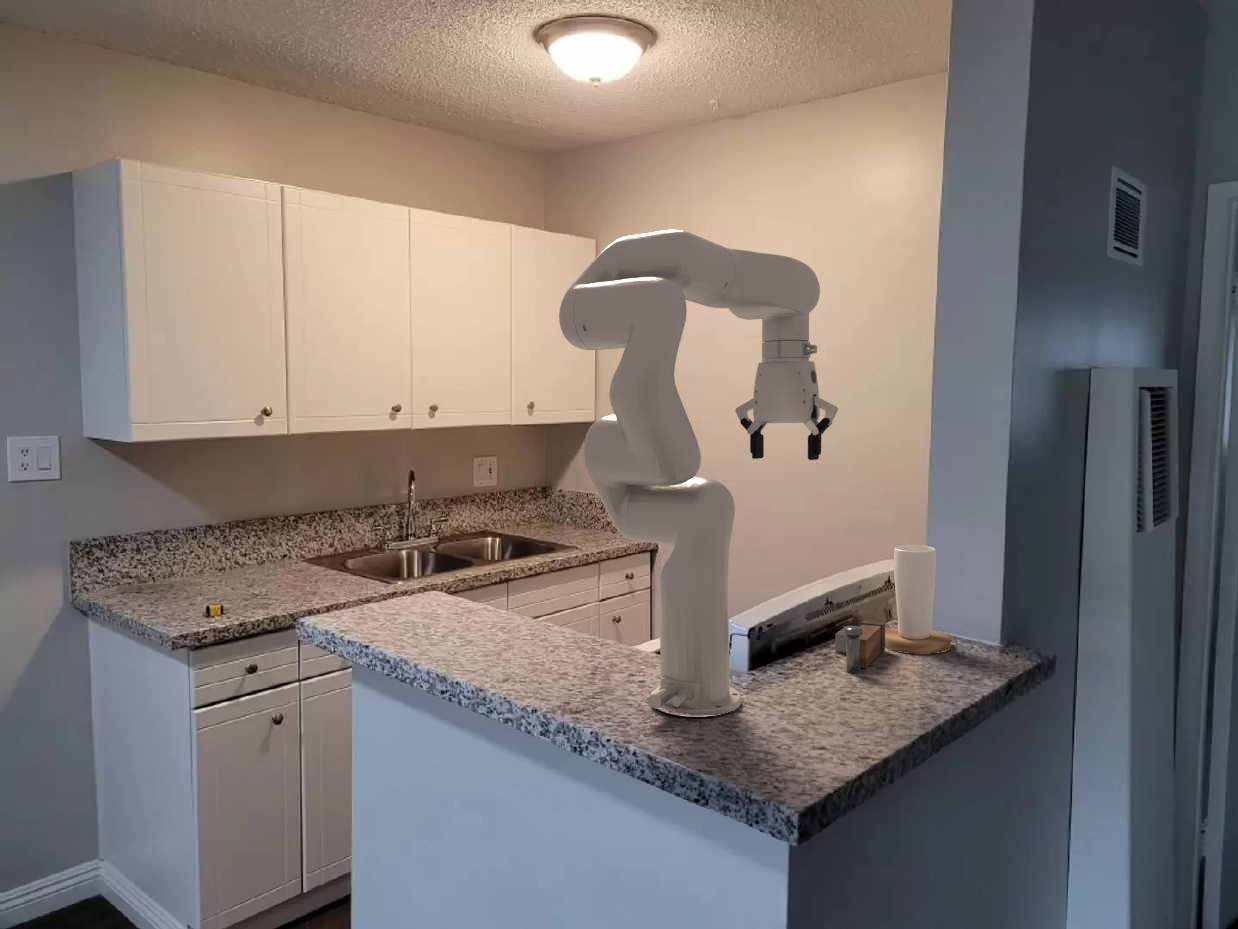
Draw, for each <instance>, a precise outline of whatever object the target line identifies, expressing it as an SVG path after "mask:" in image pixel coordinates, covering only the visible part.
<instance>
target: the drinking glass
mask: <svg viewBox="0 0 1238 929" xmlns="http://www.w3.org/2000/svg"><path fill="white" fill-rule="evenodd" d="M936 576H937V550H936V548H935V547H933V546H929V545H921V544H920V545H919V544H918V545H917V544H906V545H905V544H904V545H897V546H895V547H894V549H893V578H894V579H893V580H894V589H895V590H894V591H895V602H896V613H897V614H896V615H897V628H898V633H899V635H900V636H902V637H904V638H908V639H916V640H919V639H926V638H929V637H930V636H931V630H932V623H933V609H934V600H935V598H934V597H935V589H936V578H937V577H936Z"/></svg>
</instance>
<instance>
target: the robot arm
mask: <svg viewBox="0 0 1238 929" xmlns="http://www.w3.org/2000/svg"><path fill="white" fill-rule="evenodd" d="M820 294H821V288H820V281H819V278H818V277H817V275H816V273H815V271H814V270H813V269H812V268H811V267H810V266H809V264H807V263H805V262H803V261H800V260H798V259H796V258H793V257H790V256H785V255H781V254H780V255H779V254H775V253H774V254H773V253H764V252H757V251H756V252H755V251H750V250H746V249H745V250H744V249H743V250H742V249H734V248H729V247H725V246H723V245H720V244H717V243H715V242H713V241H710V240H708V239H706V238H704V237H700V236H698V235H696V234H693V233H692V232H688V231H684V230H681V229H668V230H666V229H665V230H659V231H653V232H647V233H639V234H634V235H633V234H632V235H628V236H623V237H620V238H618V239H616V240H614V241H613V242H612V243H610V244H609V245H608V246H606V247H605V249H604V250H602V251H601V252H600V253H599V254H598V255H597V256H596V257H595V258H594V259H593V260H592V261H591V262H590V264H589V265H588V266H587V267H586V269H585V270H584V271H583V272H582V273H581V274H580V275H579V276H578V278H577V279H575V281H573V283H572V284H571V285H570V287H569V288H568V289H567V291H566V292H565V294H564V296H563V298H562V300H561V303H560V307H559V312H558V316H559V317H558V319H559V320H558V321H559V326H560V329H561V332H562V335H563V336H564V337H565V339H566V340H567V341H568V343H569V344H570V345H572V346H573V347H575V348H578V349H581V350H584V351H585V350H586V351H601V350H616V349H618V350H619V349H624V351H623V353H622V356H621V359H620V361H619V363H618V366H617V368H616V369H615V371H614V374H613V376H612V378H611V382H610V385H609V386H610V387H609V402H610V405H611V407H612V411H613V413H614V414H610V415H605V416H603V417H600V418H599V419H597V420H596V421H594V422H593V423H592V425H590V426H589V428H588V431H587V432H586V435H585V439H584V443H583V444H584V446H583V457H584V464H585V468H586V471H587V473H588V474H587V475H588V476H589V478H590V481H591V483H592V484H593V486H594V488H595V491H596V492H597V495H598V497H599V499H600V501H601V503H602V504H603V507H604V509H605V510H606V512H607V515H608V517H609V518H610V521H611V522H612V524H613V525H614V527H615V529H616V530H617V532H619V534H620V535H622V537H624V538H626V539H628V540H631V541H635V542H642V543H650V544H658V545H659V544H660V545H661V544H662V545H668V546H673V549H672V551H671V554H670V555H669V557H668V558H667V559H666V562H665V563H664V564H663V567H662V569H661V571H660V574H659V580H658V597H659V598H658V599H659V605H658V606H659V646H660V649H659V650H660V652H659V653H660V686H657V688H654V689H653V690H652V691H651V692H650V695H649V697H648V704H649V706H650V707H651V708H653V709H655V710H656V709H657V708H659V707H661V708H663V709H665V710H668V711H675V712H678V713H683V714H690V715H718V714H724V713H727V714H729V713H728V712H730V713H732V712H734V711H736V710H737V709H739V707H740V706H741V704H742V696H741V693H740V691H738V690H737V689H736V688H734V687H733V686H730V627H729V625H730V624H729V622H730V620H729V618H730V617H729V614H730V613H729V555H730V545H731V539H732V538H731V537H732V532H733V527H734V521H735V512H736V511H735V510H736V509H735V501H734V496H733V495H732V493H731V491H730V490H729V488H727V487H726V486H725V485H724V484H723V483H721V482H719V481H717V480H715V479H713V478H708V477H700V476H696V475H697V473H699V470H700V468H701V462H702V461H701V458H702V456H701V449H700V446H699V443H698V439H697V437H696V434H695V431H694V430H693V427H692V424H691V422H690V419H689V416H688V414H687V412H686V410H685V407H684V405H683V402H682V399H681V397H680V394H679V391H678V388H677V385H676V379H675V368H676V361H677V357H678V353H679V352H678V351H679V347H680V343H681V340H682V336H683V334H684V333H683V332H684V329H685V324H686V321H687V311H688V310H687V302H686V301H688V302H690V303H691V302H692V303H694V304H698V305H701V306H704V307H708V308H713V309H729V311H730V312H731V313H732V315H734V316H735V317H737V318H739V319H742V320H747V321H749V320H761V362H758V364H757V368H756V371H755V372H756V374H755V379H754V387H753V398H752V399H749V400H748V401H746V402H744V403H743V404H741V405H739V406H737V407H735V411H734V412H735V414H736V416H737V418H738V420H739V422H740V424H741V426H742V427H743V428H744V430H746V431H747V434H748V435H749V441H750V442H749V445H750V446H749V452H750V454H751V459H753V460H757V459H759V460H760V459H763V458H764V454H765V452H764V449H765V448H764V447H765V446H764V445H765V444H764V443H765V442H764V440H765V438H764V434H763V433H762V431H763V430H764V429H765V427H766V426H767V424H801V423H802V424H804V425H805V427H806V428H807V429H808V431H809V433H810V434H808V436H807V459H808V460H809V461H816V460H817V461H818V460H819V458H820V455H821V454H822V435H823V434H824V433H825V432H826V430H827V429H828V428H829V427H830V426H831V425H832V424H833V422H834V421H833V420H835V417H836V415H837V413H838V411H839V408H838V406H836V405H834V404H832V403H830V402H828V401H826V400H825V399H823V398H821V397H820V391H819V382H818V374H817V368H816V364H815V361H810V358H811V356H812V355H813V354H817V353H818V346H817V345H816V344H811V342H810V313H812V311H814V309H815V308H816V306H817V305H818V303H819V299H820V296H821V295H820ZM751 410H752V416H753V419H754V420H753V421H752V420H751V419H750V418H749V415H748V412H749V411H751ZM820 410H823V411H824V412H825V413H824V417H823V418H822V419H821V420H820V421H818V420H819V419H820V413H821V412H820ZM731 711H732V712H731ZM724 715H725V714H724Z"/></svg>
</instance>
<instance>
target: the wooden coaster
mask: <svg viewBox="0 0 1238 929" xmlns="http://www.w3.org/2000/svg"><path fill="white" fill-rule="evenodd" d="M950 647H951V648H952V638H951V636H950V635H948V634H947V633H944V632H942V631H940V630H936V629H931V636H930V637H929V638H926V639H919V640H916V639H908V638H904V637H902V636H900V635H899V633H898V627H897V628H891V629H887V630H885V649H886V648H887V649H889V650H891V651H894V650H896V651H895V652H898V651H901V652H900V653H903V652H906V653H905V654H909V653H916V654H915V655H928V654H927V653H937V652H942V651H945V650H948V649H950ZM950 650H951V649H950ZM907 652H908V653H907ZM917 653H918V654H917ZM921 653H922V654H921ZM924 653H926V654H924Z"/></svg>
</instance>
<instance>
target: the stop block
mask: <svg viewBox="0 0 1238 929" xmlns="http://www.w3.org/2000/svg"><path fill="white" fill-rule="evenodd" d="M834 636H835V637H834V641H835V642H834V644H835V648H834V649H835V651H834V652H835V653H840V654H841V653H842V654H846V634H844V628H841V629H840V630H839V631H837V632H836V633H835V634H834Z"/></svg>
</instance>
